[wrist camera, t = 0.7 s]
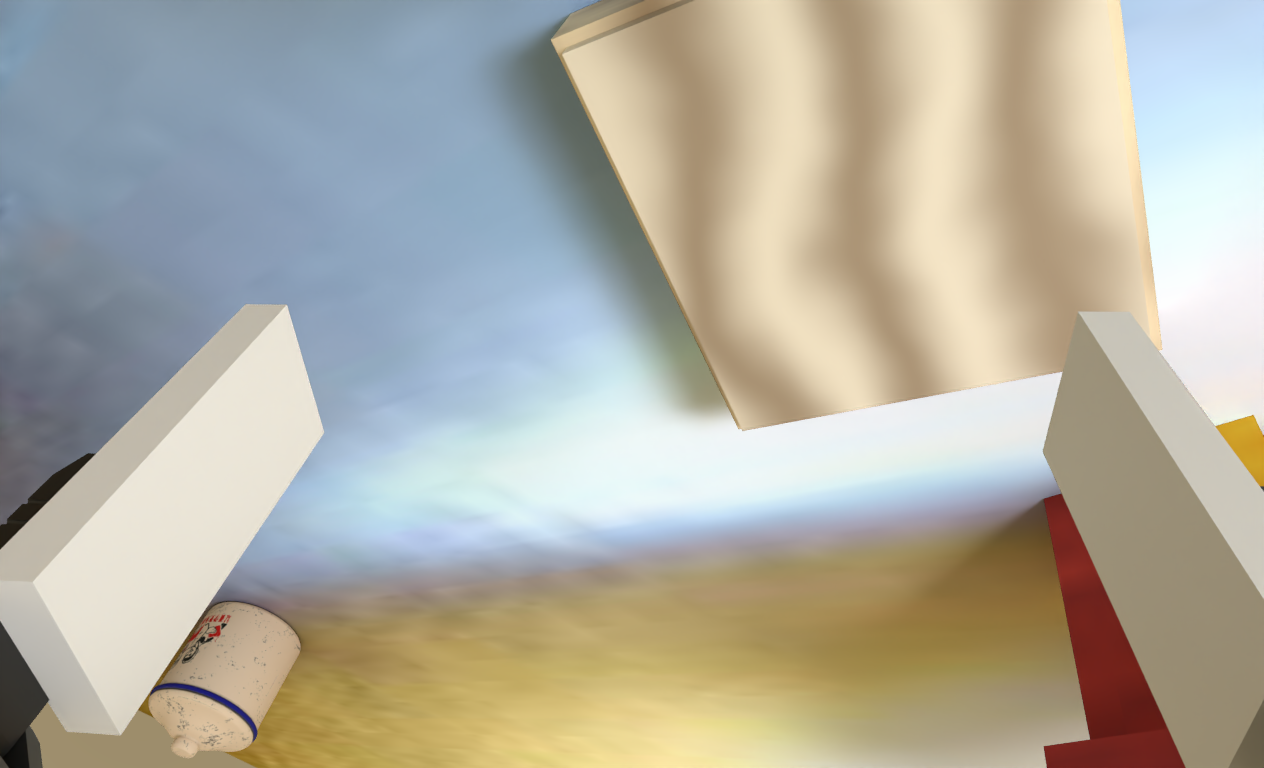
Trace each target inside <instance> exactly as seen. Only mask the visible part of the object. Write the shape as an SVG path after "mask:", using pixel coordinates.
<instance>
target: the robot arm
mask: <svg viewBox="0 0 1264 768" xmlns="http://www.w3.org/2000/svg"><path fill="white" fill-rule="evenodd" d="M323 434H324V430H323V427H322V423H321V420H320V416H319V413H318V410H317V406H316V403H315V399H314V396H313V392H312V389H311V386H310V382H309V379H308V375H307V372H306V369H305V365H304V362H303V358H302V355H301V351H300V348H299V345H298V341H297V338H296V334H295V331H294V327H293V324H292V321H291V317H290V314H289V310H288V307H287V305H253V304H246V305H245V306H244V307H243V308H242V309H241V310H240V311H239V312H238V313H237V314H236V315H235V316H234V317H233V318H232V319H231V320H230V321H229V322H228V323H227V324H226V325H225V326H224V327H223V328H222V329H221V330H220V331H219V332H218V333H217V334H216V335H215V336H214V337H213V338H212V339H211V340H210V341H209V342H208V343H207V344H206V345H205V346H204V347H203V348H202V349H201V350H200V351H199V352H198V353H197V354H196V355H194V356H193V357H192V358H191V359H190V360H189V361H188V362H187V363H186V364H185V365H184V366H183V367H182V368H181V369H180V370H179V371H178V372H177V373H176V374H175V375H174V376H173V377H172V378H171V379H170V380H169V381H168V382H167V383H166V384H165V385H164V386H163V387H162V388H161V389H160V390H159V391H158V392H157V393H156V394H155V395H154V396H153V397H152V398H151V399H150V400H149V401H148V402H147V403H146V404H145V405H144V406H143V407H142V408H141V409H140V410H139V411H138V412H137V413H136V414H135V415H134V416H133V417H132V418H131V419H130V420H129V421H128V422H127V423H126V424H125V425H124V426H123V427H122V428H121V429H120V430H119V431H118V432H117V433H116V434H115V435H114V436H113V437H112V438H111V439H110V440H109V441H108V442H107V443H106V444H105V445H104V446H103V447H102V448H101V449H100V450H99V451H98V452H97V453H96V454H89V453H88V454H86V455H85V456H83V457H81V458H80V459H78V460H76V461H75V462H73V463H71V464H70V465H68V466H67V467H65V468H63V469H62V470H60V471H58V472H57V473H55V474H53V475H52V476H51V477H50V478H49V479H48V480H47V481H46V482H45V483H44V484H43V485H42V486H41V487H40V488H39V489H38V490H37V491H36V492H35V493H34V494H33V495H32V496H31V497H30V498H28V503H27V504H22V505H21V506H20V507H19V508H18V509H17V510H16V511H15V512H14V513H13V514H12V515H11V516H10V517H9V518H8V519H7V524H2V525H1V526H0V768H43V767H42V759H41V750H40V743H39V741H38V739H37V737H36V735H35V733H34V732H33V730H32V729H31V727H30V726H29V725H30V724H31V723H32V722H33V720H34V719H35V718H36V716H37V715H38V714H39V713H40V711H41V710H42V709H43V707H44V706H45V705H46V703H47V702H48V703H49V705H50V706H51V708H52V709H53V711H54V712H55V714H56V716H57V717H58V719H59V721H60V722H61V724H62V725H63V727H64V729H65V730H66V731H68V732H82V733H96V734H112V735H121V734H122V732H123V731H124V729H125V728H126V727H127V725H128V723H129V722H130V721H131V719H132V718H133V716H134V715H135V713H136V712H137V710H138V709H139V707H140V706H141V704H142V703H143V701H144V700H145V698H146V697H147V695H148V694H149V692H150V691H151V689H152V688H153V686H154V685H155V683H156V682H157V681H158V679H159V678H160V676H161V675H162V673H163V672H164V670H165V669H166V667H167V666H168V664H169V663H170V661H171V660H172V658H173V657H174V655H175V654H176V652H177V651H178V649H179V648H180V646H181V645H182V643H183V642H184V640H185V639H186V637H187V636H188V634H189V633H190V631H191V630H192V628H193V627H194V625H195V624H196V623H197V621H198V620H199V618H200V617H201V615H202V614H203V612H204V611H205V609H206V608H207V606H208V605H209V603H210V602H211V600H212V599H213V597H214V596H215V594H216V593H217V591H218V590H219V588H220V587H221V585H222V584H223V582H224V581H225V579H226V578H227V576H228V575H229V573H230V572H231V570H232V569H233V568H234V566H235V565H236V563H237V562H238V560H239V559H240V557H241V556H242V554H243V553H244V551H245V550H246V548H247V547H248V545H249V544H250V542H251V541H252V539H253V538H254V536H255V535H256V533H257V532H258V530H259V529H260V527H261V526H262V524H263V523H264V521H265V520H266V518H267V517H268V515H269V514H270V512H271V511H272V510H273V508H274V507H275V505H276V504H277V502H278V501H279V499H280V498H281V496H282V495H283V493H284V492H285V490H286V489H287V487H288V486H289V484H290V483H291V481H292V480H293V478H294V477H295V475H296V474H297V472H298V471H299V469H300V468H301V466H302V465H303V463H304V462H305V460H306V459H307V457H308V456H309V455H310V453H311V452H312V450H313V449H314V447H315V446H316V444H317V443H318V441H319V440H320V438H321V437H322V435H323ZM1043 453H1044V455H1045V458H1046V460H1047V462H1048V464H1049V466H1050V469H1051V471H1052V473H1053V475H1054V477H1055V480H1056V482H1057V484H1058V486H1059V489H1060V491H1061V493H1062V495H1063V497H1064V500H1065V502H1066V504H1067V506H1068V508H1069V511H1070V513H1071V515H1072V517H1073V519H1074V522H1075V524H1076V526H1077V528H1078V531H1079V533H1080V535H1081V537H1082V539H1083V542H1084V544H1085V546H1086V548H1087V550H1088V553H1089V555H1090V557H1091V559H1092V561H1093V564H1094V566H1095V568H1096V570H1097V573H1098V575H1099V577H1100V579H1101V581H1102V584H1103V586H1104V588H1105V590H1106V592H1107V595H1108V597H1109V599H1110V601H1111V603H1112V606H1113V608H1114V610H1115V612H1116V615H1117V617H1118V619H1119V621H1120V623H1121V626H1122V628H1123V630H1124V632H1125V634H1126V637H1127V639H1128V641H1129V643H1130V645H1131V648H1132V650H1133V652H1134V654H1135V657H1136V659H1137V661H1138V663H1139V665H1140V668H1141V670H1142V672H1143V674H1144V676H1145V679H1146V681H1147V683H1148V685H1149V687H1150V690H1151V692H1152V694H1153V696H1154V699H1155V701H1156V703H1157V705H1158V707H1159V710H1160V712H1161V714H1162V716H1163V718H1164V721H1165V723H1166V725H1167V727H1168V729H1169V732H1170V734H1171V736H1172V738H1173V741H1174V743H1175V745H1176V747H1177V749H1178V752H1179V754H1180V756H1181V758H1182V760H1183V763H1184V765H1185V767H1186V768H1264V486H1259V485H1258V483H1257V482H1256V481H1255V479H1254V478H1253V477H1252V475H1251V474H1250V473H1249V471H1248V470H1247V468H1246V467H1245V466H1244V464H1243V463H1242V462H1241V460H1240V459H1239V458H1238V456H1237V455H1236V454H1235V452H1234V451H1233V450H1232V448H1231V447H1230V446H1229V444H1228V443H1227V442H1226V440H1225V439H1224V438H1223V436H1222V435H1221V434H1220V432H1219V431H1218V430H1217V428H1216V427H1215V426H1214V424H1213V423H1212V422H1211V420H1210V419H1209V418H1208V416H1207V415H1206V414H1205V412H1204V411H1203V410H1202V408H1201V407H1200V406H1199V404H1198V403H1197V401H1196V400H1195V399H1194V397H1193V396H1192V395H1191V393H1190V392H1189V391H1188V389H1187V388H1186V387H1185V385H1184V384H1183V383H1182V381H1181V380H1180V379H1179V377H1178V376H1177V375H1176V373H1175V372H1174V371H1173V369H1172V368H1171V367H1170V365H1169V364H1168V363H1167V361H1166V360H1165V359H1164V357H1163V356H1162V355H1161V353H1160V352H1159V351H1158V349H1157V348H1156V347H1155V345H1154V344H1153V343H1152V341H1151V340H1150V339H1149V337H1148V336H1147V335H1146V333H1145V332H1144V330H1143V329H1142V328H1141V326H1140V325H1139V324H1138V322H1137V321H1136V320H1135V318H1134V317H1133V316H1132V314H1131V313H1130V312H1080V311H1078V314H1077V318H1076V322H1075V326H1074V329H1073V333H1072V337H1071V341H1070V345H1069V349H1068V353H1067V357H1066V361H1065V365H1064V369H1063V373H1062V377H1061V381H1060V385H1059V389H1058V393H1057V397H1056V401H1055V405H1054V409H1053V413H1052V417H1051V421H1050V425H1049V429H1048V433H1047V436H1046V440H1045V444H1044V448H1043Z"/></svg>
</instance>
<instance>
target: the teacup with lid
mask: <svg viewBox="0 0 1264 768" xmlns="http://www.w3.org/2000/svg"><path fill="white" fill-rule="evenodd" d="M300 649H301V645H300V641H299V638H298V636H297V635H296V633H295V632H294V630H293V629H292V628H291V627H290V626H289V625H288V624H287V623H286V622H284V621H283V620H282V619H280V618H279V617H277V616H276V615H274V614H272V613H270V612H268V611H266V610H264V609H262V608H259V607H257V606H254V605H250V604H246V603H241V602H223V603H220V604H217V605H215V606H213V607H212V608H211V609H210V610H209V612H208V613H207V615H206V616H205V618H204V619H203V621H202V622H201V624H200V625H199V627H198V628H197V630H196V631H195V633H194V634H193V636H192V637H191V639H190V640H189V642H188V643H187V645H186V646H185V648H184V649H183V651H182V652H181V654H180V655H179V657H178V658H177V660H176V661H175V663H174V664H173V666H172V667H171V669H170V670H169V672H168V673H167V675H166V676H165V678H164V679H163V681H162V682H161V684H160V685H158V686H156V687H155V688H154V689H153V690H152V692H151V694H150V698H149V709H150V711H151V713H152V715H153V716H154V718H155V719H156V720H157V721H158V722H159V723H160V724H161V725H163V727H165V728H166V730H167V732H168V733H169V734H170V736H171V737H172V738H173V739H174V741H173V743H172V746H171V749H172V751H173V752H174V753H175V754H177V755H179V756H181V757H184V758H191V757H193V756H194V755H195V754H196V753H197V751H198V750H201V751H211V750H217V751H225V752H233V751H239V750H242V749H244V748H246V747H248V746H249V745H250V744H251V743H252V742H253V741H254V740H255V739H256V737H257V729H258V727H259V725H260V724H261V722H262V720H263V718H264V716H265V715H266V713H267V711H268V709H269V707H270V706H271V704H272V702H273V700H274V698H275V697H276V695H277V693H278V691H279V689H280V687H281V686H282V684H283V682H284V680H285V678H286V677H287V675H288V673H289V671H290V669H291V668H292V666H293V664H294V662H295V660H296V659H297V657H298V655H299V653H300Z"/></svg>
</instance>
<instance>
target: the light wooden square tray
mask: <svg viewBox="0 0 1264 768" xmlns="http://www.w3.org/2000/svg"><path fill="white" fill-rule="evenodd" d="M551 41H552V43H553V45H554V47H555V49H556V52H557V54H558V56H559V58H560V60H561V62H562V64H563V66H564V68H565V70H566V72H567V74H568V76H569V79H570V81H571V83H572V85H573V87H574V89H575V91H576V93H577V95H578V97H579V99H580V101H581V103H582V105H583V108H584V110H585V112H586V114H587V116H588V118H589V120H590V122H591V124H592V126H593V128H594V130H595V132H596V135H597V137H598V139H599V141H600V143H601V145H602V147H603V149H604V151H605V153H606V155H607V157H608V159H609V161H610V164H611V166H612V168H613V170H614V172H615V174H616V176H617V178H618V180H619V182H620V184H621V186H622V188H623V191H624V193H625V195H626V197H627V199H628V201H629V203H630V205H631V207H632V209H633V211H634V213H635V215H636V217H637V220H638V222H639V224H640V226H641V228H642V230H643V232H644V234H645V236H646V238H647V240H648V242H649V244H650V247H651V249H652V251H653V253H654V255H655V257H656V259H657V261H658V263H659V265H660V267H661V269H662V271H663V273H664V276H665V278H666V280H667V282H668V284H669V286H670V288H671V290H672V292H673V294H674V296H675V298H676V300H677V303H678V305H679V307H680V309H681V311H682V313H683V315H684V317H685V319H686V321H687V323H688V325H689V327H690V329H691V332H692V334H693V336H694V338H695V340H696V342H697V344H698V346H699V348H700V350H701V352H702V354H703V356H704V359H705V361H706V363H707V365H708V367H709V369H710V371H711V373H712V375H713V377H714V379H715V381H716V383H717V386H718V388H719V390H720V392H721V394H722V396H723V398H724V400H725V402H726V404H727V406H728V408H729V410H730V412H731V415H732V417H733V419H734V421H735V423H736V425H737V427H738V429H742V431H745V430H751V429H756V428H761V427H767V426H772V425H778V424H783V423H788V422H794V421H799V420H804V419H810V418H815V417H821V416H826V415H831V414H837V413H842V412H847V411H853V410H858V409H864V408H869V407H874V406H880V405H885V404H890V403H896V402H901V401H907V400H912V399H917V398H923V397H928V396H933V395H939V394H944V393H950V392H955V391H960V390H966V389H971V388H976V387H982V386H987V385H993V384H998V383H1003V382H1009V381H1014V380H1019V379H1025V378H1030V377H1036V376H1041V375H1046V374H1052V373H1057V372H1062V371H1063V369H1064V365H1065V361H1066V357H1067V353H1068V349H1069V345H1070V341H1071V337H1072V333H1073V329H1074V326H1075V322H1076V318H1077V314H1078V311H1080V312H1130V313H1131V314H1132V316H1133V317H1134V318H1135V320H1136V321H1137V322H1138V324H1139V325H1140V326H1141V328H1142V329H1143V330H1144V332H1145V333H1146V335H1147V336H1148V337H1149V339H1150V340H1151V341H1152V343H1153V344H1154V345H1155V347H1156V348H1157V349H1158V351H1159V350H1162V342H1161V334H1160V326H1159V318H1158V309H1157V301H1156V293H1155V285H1154V277H1153V268H1152V260H1151V252H1150V244H1149V236H1148V227H1147V219H1146V211H1145V203H1144V195H1143V186H1142V178H1141V170H1140V162H1139V153H1138V145H1137V137H1136V129H1135V121H1134V112H1133V104H1132V96H1131V88H1130V80H1129V71H1128V63H1127V55H1126V47H1125V39H1124V30H1123V22H1122V14H1121V6H1120V0H601V1H599V2H597V3H594V4H592V5H590V6H587V7H585V8H583V9H580V10H578V11H576V12H573V13H571V14H570V15H569V17H568V18H567V19H566V20H565V22H564V23H563V24H562V26H561V27H560V28H559V30H558V31H557V32H556V34H555V35H554V36H553V38H552V39H551Z"/></svg>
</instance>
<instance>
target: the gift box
mask: <svg viewBox="0 0 1264 768" xmlns="http://www.w3.org/2000/svg"><path fill="white" fill-rule="evenodd" d="M1215 427H1216V428H1217V430H1218V431H1219V432H1220V434H1221V435H1222V436H1223V438H1224V439H1225V440H1226V442H1227V443H1228V444H1229V446H1230V447H1231V448H1232V450H1233V451H1234V452H1235V454H1236V455H1237V456H1238V458H1239V459H1240V460H1241V462H1242V463H1243V464H1244V466H1245V467H1246V468H1247V470H1248V471H1249V473H1250V474H1251V475H1252V477H1253V478H1254V479H1255V481H1256V482H1257V483H1258V485H1259V486H1264V435H1263V434H1262V432H1261V430H1260V428H1259V426H1258V424H1257V422H1256V419H1255V417H1254V415H1252V416H1248V417H1245V418H1242V419H1239V420H1235V421H1232V422H1229V423H1225V424H1222V425H1219V426H1215ZM1044 503H1045V508H1046V513H1047V518H1048V523H1049V528H1050V534H1051V539H1052V544H1053V549H1054V554H1055V559H1056V565H1057V570H1058V575H1059V580H1060V585H1061V591H1062V596H1063V601H1064V606H1065V611H1066V616H1067V622H1068V627H1069V632H1070V637H1071V642H1072V647H1073V653H1074V658H1075V663H1076V668H1077V673H1078V678H1079V684H1080V689H1081V694H1082V699H1083V704H1084V710H1085V715H1086V720H1087V725H1088V730H1089V735H1090V740H1084V741H1077V742H1071V743H1064V744H1057V745H1050V746H1044V751H1045V758H1046V764H1047V768H1186V767H1185V765H1184V763H1183V760H1182V758H1181V756H1180V754H1179V752H1178V749H1177V747H1176V745H1175V743H1174V741H1173V738H1172V736H1171V734H1170V732H1169V729H1168V727H1167V725H1166V723H1165V721H1164V718H1163V716H1162V714H1161V712H1160V710H1159V707H1158V705H1157V703H1156V701H1155V699H1154V696H1153V694H1152V692H1151V690H1150V687H1149V685H1148V683H1147V681H1146V679H1145V676H1144V674H1143V672H1142V670H1141V668H1140V665H1139V663H1138V661H1137V659H1136V657H1135V654H1134V652H1133V650H1132V648H1131V645H1130V643H1129V641H1128V639H1127V637H1126V634H1125V632H1124V630H1123V628H1122V626H1121V623H1120V621H1119V619H1118V617H1117V615H1116V612H1115V610H1114V608H1113V606H1112V603H1111V601H1110V599H1109V597H1108V595H1107V592H1106V590H1105V588H1104V586H1103V584H1102V581H1101V579H1100V577H1099V575H1098V573H1097V570H1096V568H1095V566H1094V564H1093V561H1092V559H1091V557H1090V555H1089V553H1088V550H1087V548H1086V546H1085V544H1084V542H1083V539H1082V537H1081V535H1080V533H1079V531H1078V528H1077V526H1076V524H1075V522H1074V519H1073V517H1072V515H1071V513H1070V511H1069V508H1068V506H1067V504H1066V502H1065V500H1064V497H1063V495H1062V494H1059V495H1055V496H1052V497H1048V498H1045V499H1044Z"/></svg>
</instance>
